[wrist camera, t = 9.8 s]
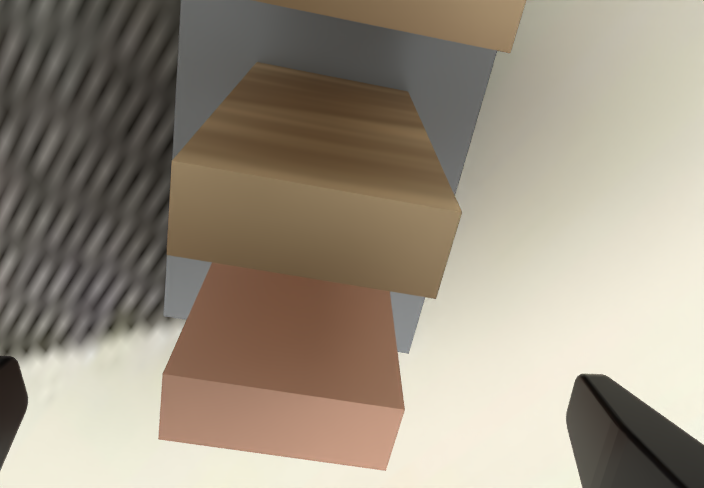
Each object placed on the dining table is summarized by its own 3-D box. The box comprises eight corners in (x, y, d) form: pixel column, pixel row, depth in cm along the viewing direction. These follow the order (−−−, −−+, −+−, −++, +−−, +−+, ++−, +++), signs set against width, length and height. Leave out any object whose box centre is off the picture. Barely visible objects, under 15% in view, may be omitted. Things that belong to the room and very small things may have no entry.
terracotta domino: (243, 191, 20) (162, 373, 12) (380, 216, 21) (404, 410, 12) (237, 236, 21) (158, 439, 12) (369, 259, 22) (386, 470, 13)
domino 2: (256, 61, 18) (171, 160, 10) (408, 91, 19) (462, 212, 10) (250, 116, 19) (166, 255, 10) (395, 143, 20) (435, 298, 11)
